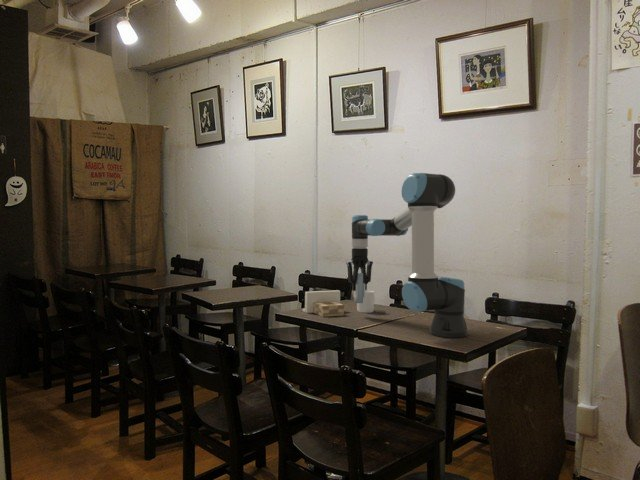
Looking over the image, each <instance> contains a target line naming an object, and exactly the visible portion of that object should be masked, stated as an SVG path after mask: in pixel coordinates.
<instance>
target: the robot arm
mask: <svg viewBox="0 0 640 480" xmlns="http://www.w3.org/2000/svg"><path fill="white" fill-rule="evenodd" d="M455 194H456V185H455V182H454V181H453V180H452V179H451V178H450V177H449V176H447V175H445V174H441V173H440V174H439V173H438V174H437V173H426V172H414V173H411V174H409V175H407V177H406V178H405V179H404V181H403V183H402V185H401V197H402V198H403V201H404V202H406V203H407V207H406V209H405V210H403V211H401V212H399V214H398V215H396V216H394V217H393V218H390V219H384V218H383V219H380V218H379V219H378V218H370V219H369V216H368V215H365V214H364V215H363V214H359V215H358V214H357V215H352V217H351V247H352V248H351V259H350V260H349V261H346V263H345V264H346V268H347V282H348V283H351V286H352V288H351V290H352V291H353V298H355V299H356V298H358V284H356V282H357V275H358V273H359V270H360V273H363V298H365V290H368V287H367V286H368V285H367V284H369V283H371V280H372V269H373V264H374V262H373V261H372V260H369V258H368V255H369V254H368V253H369V251H368V250H369V249H368V247H369V245H368V243H369V242H368V241H369V238H368V237H369V236H370V237H378V236H380V237H381V236H387V237H388V236H390V237H391V236H396V237H399V236H405V235H406V234H407V232H408V231H409V228H410V227H411V273H410V274H408V276H407V282H405V283H404V284H403V286H402V288H401V297H402V300H403V302H404V305H405V306H406V307H407V308H408V309H409V310H410V311H413V312H425V311H434V314H433V318H432V320H431V324H430V326H429V334H431V335H433V336H436V337H441V338H450V339H451V338H452V339H454V338H458V339H459V338H464V337H465V338H466V337H468V331H469V330H468V326H467V322H466V320H465V293H466V289H465V282H464V280H463V279H460V278H454V277H447V276H446V277H445V276H438V275H437V274H436V273H435V220H434V219H435V215H434V214H435V211H436V210H437V209H442V208H444V207H445V206H447V205H448V204H449V203H450V202H451V201H452V200H453V199H454V198H455ZM352 265H353V266H352Z"/></svg>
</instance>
